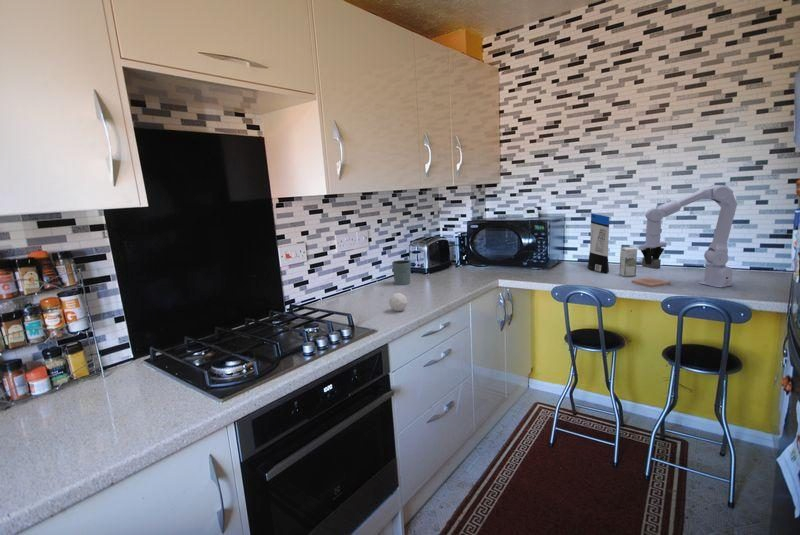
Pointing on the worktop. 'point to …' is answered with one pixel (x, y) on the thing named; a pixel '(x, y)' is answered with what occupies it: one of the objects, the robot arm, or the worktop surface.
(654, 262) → the charger plug
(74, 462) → the worktop surface
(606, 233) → the protein powder
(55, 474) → the worktop surface
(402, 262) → the green cup
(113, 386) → the worktop surface
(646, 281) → the terracotta trivet
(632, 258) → the syrup box
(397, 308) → the ball
